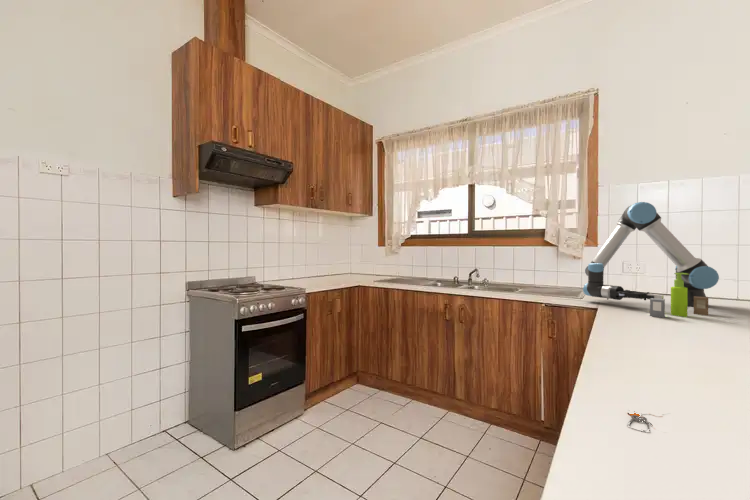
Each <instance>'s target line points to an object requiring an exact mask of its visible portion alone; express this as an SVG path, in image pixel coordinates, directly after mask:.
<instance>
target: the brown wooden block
mask: <svg viewBox="0 0 750 500" xmlns="http://www.w3.org/2000/svg"><path fill="white" fill-rule="evenodd" d="M693 314H694V315H699V316H709V297H708V296H706V297H697V296H694V306H693Z"/></svg>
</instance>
